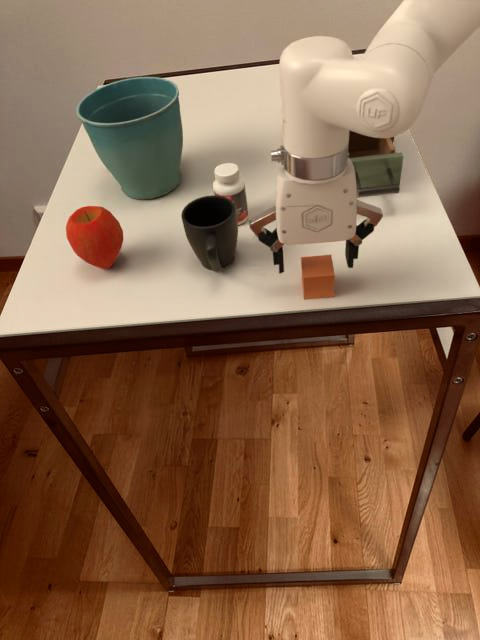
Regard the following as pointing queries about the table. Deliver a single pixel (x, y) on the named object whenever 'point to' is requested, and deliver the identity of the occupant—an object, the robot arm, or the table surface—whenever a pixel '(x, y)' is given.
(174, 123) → the flower pot
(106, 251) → the apple
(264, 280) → the table surface
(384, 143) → the drawer
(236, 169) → the pill bottle
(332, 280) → the block
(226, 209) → the mug
